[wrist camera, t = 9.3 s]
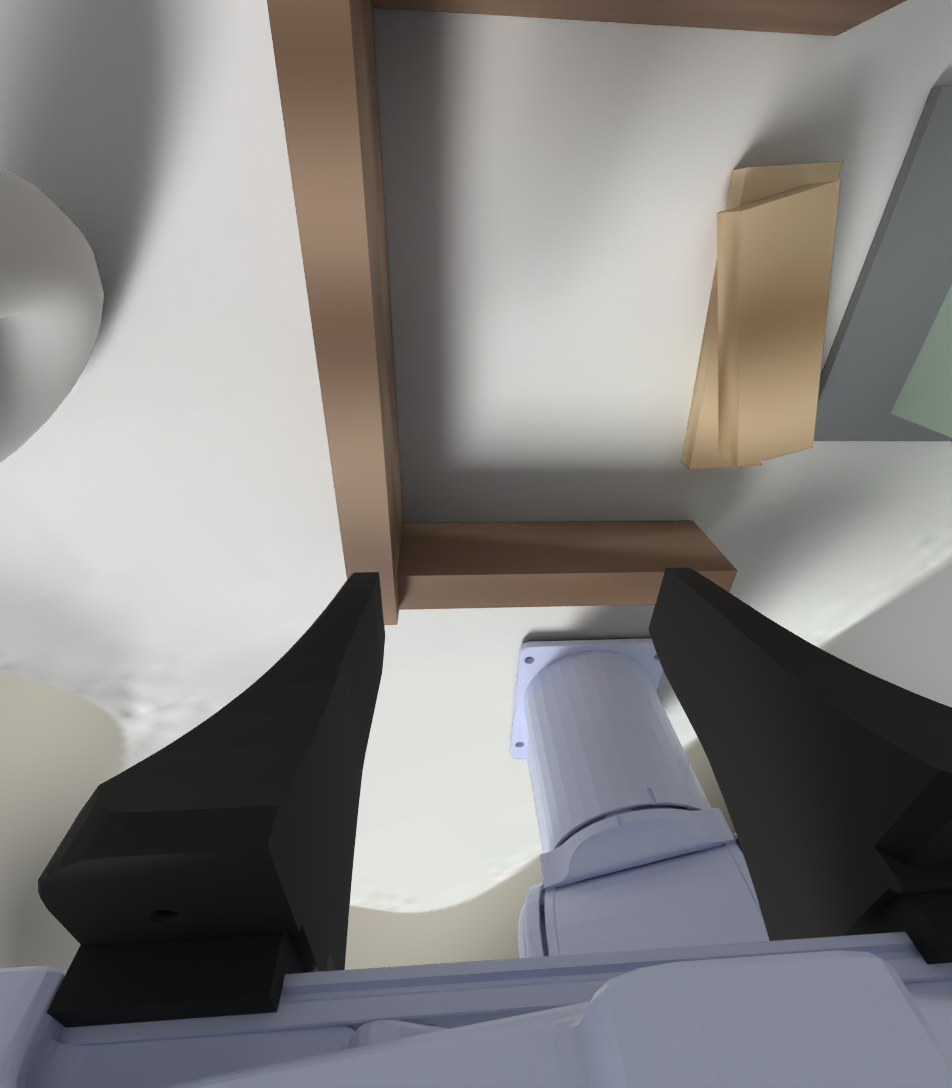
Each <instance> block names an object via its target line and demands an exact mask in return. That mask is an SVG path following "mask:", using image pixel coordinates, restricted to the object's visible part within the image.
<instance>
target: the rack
mask: <svg viewBox="0 0 952 1088" xmlns="http://www.w3.org/2000/svg"><path fill="white" fill-rule="evenodd" d="M904 1H906V0H267V4H268V12H269V19H270V26H271V33H272V40H273V48H274V55H275V62H276V69H277V77H278V84H279V91H280V98H281V105H282V113H283V120H284V127H285V134H286V142H287V149H288V156H289V163H290V170H291V178H292V185H293V192H294V199H295V207H296V214H297V221H298V228H299V235H300V243H301V250H302V257H303V264H304V272H305V279H306V286H307V293H308V301H309V308H310V315H311V322H312V329H313V337H314V344H315V351H316V358H317V366H318V373H319V380H320V387H321V394H322V402H323V409H324V416H325V423H326V431H327V438H328V445H329V452H330V459H331V467H332V474H333V481H334V488H335V496H336V503H337V510H338V517H339V524H340V532H341V539H342V546H343V553H344V561H345V568H346V575H347V579H348V578H349V577H350V576H351V575H352V574H353V573H354V572H379V577H380V587H381V598H382V608H383V619H384V625H397V621H398V612H399V610H400V609H450V608H499V607H549V606H598V605H648V604H656V601H657V597H658V594H659V590H660V586H661V583H662V579H663V576H664V572H665V569H666V568H691V569H693V570H694V571H696V572H698V573H700V574H701V575H703V576H704V577H706V578H708V579H709V580H711V581H712V582H714V583H715V584H717V585H718V586H720V587H721V588H723V589H724V590H726V591H727V592H729V591H730V589H731V586H732V583H733V581H734V578H735V575H736V572H737V570H736V569H735V568H734V567H733V566H732V564H731V563H730V562H729V561H728V560H727V559H726V558H725V557H724V555H723V554H722V553H721V552H720V551H719V550H718V549H717V548H716V546H715V545H714V544H713V543H712V542H711V541H710V540H709V539H708V537H707V536H706V535H705V534H704V533H703V532H702V531H701V530H700V529H699V527H698V526H697V525H696V524H695V523H694V522H693V521H606V522H488V523H403V509H402V493H401V476H400V459H399V442H398V425H397V409H396V392H395V375H394V358H393V342H392V325H391V308H390V291H389V274H388V258H387V241H386V224H385V207H384V191H383V174H382V157H381V140H380V123H379V107H378V90H377V73H376V56H375V40H374V23H373V7H374V8H391V9H407V10H423V11H440V12H456V13H472V14H489V15H505V16H521V17H538V18H554V19H570V20H586V21H603V22H619V23H635V24H652V25H668V26H684V27H701V28H717V29H733V30H750V31H766V32H782V33H799V34H815V35H831V36H837V35H839V34H841V33H843V32H845V31H847V30H849V29H851V28H853V27H855V26H857V25H859V24H861V23H863V22H865V21H867V20H868V19H870V18H872V17H874V16H876V15H878V14H880V13H882V12H884V11H886V10H888V9H890V8H892V7H894V6H896V5H898V4H900V3H902V2H904Z"/></svg>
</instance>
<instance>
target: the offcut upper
mask: <svg viewBox="0 0 952 1088" xmlns="http://www.w3.org/2000/svg"><path fill="white" fill-rule="evenodd" d="M840 181H841V180H836V181H829V182H821V183H814V184H807V185H804V186H801V187H798V188H794V189H791V190H788V191H785V192H782V193H779V194H775V195H772V196H769V197H766V198H763V199H760V200H756V201H753V202H750V203H747V204H744V205H741V206H737V207H734V208H731V209H728V210H725V211H722V212H719V213H717V273H718V429H719V454H721V455H722V456H723V457H725V458H726V459H727V460H728V461H730V462H731V463H732V464H734V465H735V466H736V467H737V468H738V467H742V466H746V465H749V464H753V463H757V462H760V461H764V460H768V459H771V458H775V457H779V456H783V455H786V454H790V453H794V452H797V451H801V450H805V449H808V448H812V447H813V440H814V431H815V421H816V411H817V402H818V392H819V383H820V373H821V363H822V354H823V344H824V335H825V325H826V315H827V306H828V296H829V287H830V277H831V267H832V258H833V248H834V239H835V229H836V219H837V210H838V200H839V191H840Z"/></svg>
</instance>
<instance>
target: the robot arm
mask: <svg viewBox="0 0 952 1088" xmlns="http://www.w3.org/2000/svg"><path fill="white" fill-rule="evenodd" d="M649 632H650V635H651V638H652V639H613V640H573V641H533V642H526V643H524V644H522V645H521V647H520V651H519V661H518V671H517V681H516V691H515V701H514V711H513V722H512V732H511V742H510V756H511V757H512V758H513V759H517V760H520V759H527V762H528V768H529V774H530V780H531V786H532V792H533V797H534V803H535V809H536V815H537V821H538V827H539V833H540V839H541V845H542V850H543V854H541V855H540V856H539V858H540V864H541V870H542V877H543V883H540V884H536V885H533V886H532V887H530V889H529V890H528V893H527V897H526V901H525V903H524V905H523V907H522V910H521V913H520V917H519V931H518V932H519V933H518V934H519V935H518V936H519V938H518V939H519V956H520V958H515V959H500V960H485V961H471V962H456V963H442V964H426V965H412V966H397V967H383V968H368V969H353V970H344V968H345V955H346V942H347V929H348V916H349V904H350V892H351V880H352V869H353V857H354V847H355V837H356V827H357V816H358V807H359V797H360V788H361V779H362V770H363V764H364V758H365V752H366V748H367V743H368V738H369V733H370V728H371V724H372V719H373V714H374V709H375V704H376V699H377V695H378V690H379V685H380V680H381V675H382V667H383V656H384V643H385V629H384V619H383V608H382V598H381V587H380V577H379V572H354V573H353V574H352V575H351V576H350V577H349V578H348V579H347V581H346V582H345V584H344V585H343V586H342V588H341V589H340V591H339V592H338V593H337V595H336V596H335V597H334V599H333V600H332V601H331V602H330V604H329V605H328V606H327V608H326V609H325V610H324V611H323V612H322V614H321V615H320V616H319V617H318V618H317V620H316V621H315V622H314V623H313V625H312V626H311V627H310V628H309V629H308V630H307V631H306V633H305V634H304V635H303V636H302V637H301V638H300V639H299V640H298V641H297V642H296V643H295V644H294V645H293V646H292V648H291V649H290V650H289V651H288V652H287V653H286V654H285V655H284V656H283V657H282V658H281V659H280V660H279V661H278V662H277V663H276V664H275V665H274V666H273V667H271V668H270V669H269V670H268V671H267V672H266V673H265V674H264V675H263V676H262V677H260V678H259V679H258V680H257V681H256V682H255V683H254V684H253V685H251V686H250V687H249V688H248V689H246V690H245V691H244V692H243V693H241V694H240V695H239V696H238V697H236V698H235V699H234V700H232V701H231V702H230V703H229V704H227V705H226V706H225V707H223V708H222V709H221V710H219V711H218V712H217V713H215V714H214V715H213V716H211V717H210V718H208V719H207V720H206V721H204V722H203V723H201V724H200V725H198V726H197V727H195V728H194V729H193V730H191V731H189V732H188V733H186V734H185V735H183V736H182V737H180V738H179V739H177V740H176V741H174V742H173V743H171V744H169V745H168V746H166V747H165V748H163V749H161V750H160V751H158V752H157V753H155V754H153V755H151V756H150V757H148V758H146V759H144V760H143V761H141V762H139V763H137V764H136V765H134V766H132V767H130V768H129V769H127V770H125V771H124V772H122V773H120V774H118V775H117V776H115V777H113V778H111V779H109V780H108V781H106V782H104V783H102V784H100V785H99V786H98V787H97V789H96V790H95V792H94V793H93V794H92V796H91V797H90V799H89V800H88V801H87V803H86V804H85V806H84V807H83V808H82V810H81V811H80V813H79V815H78V816H77V818H76V819H75V821H74V823H73V824H72V826H71V827H70V829H69V831H68V832H67V834H66V835H65V837H64V839H63V840H62V842H61V844H60V845H59V847H58V849H57V850H56V852H55V853H54V855H53V857H52V858H51V860H50V862H49V863H48V865H47V867H46V868H45V870H44V871H43V873H42V875H41V876H40V878H39V879H38V893H39V895H40V898H41V899H42V901H43V903H44V904H45V906H46V908H47V909H48V910H49V911H50V912H51V913H52V914H53V916H54V917H55V918H56V919H57V920H58V921H59V922H60V923H61V924H62V925H63V926H64V927H65V928H66V929H67V930H68V931H69V932H70V933H71V935H72V936H73V937H74V938H75V939H76V940H77V941H78V942H79V943H80V944H81V946H80V947H79V950H78V951H77V954H76V955H75V957H74V959H73V961H72V963H71V965H70V967H69V969H68V971H67V972H66V971H64V970H63V969H59V968H54V967H48V966H31V967H16V968H1V969H0V1088H952V708H951V707H949V706H946V705H943V704H940V703H938V702H935V701H932V700H930V699H928V698H925V697H923V696H920V695H918V694H915V693H913V692H910V691H908V690H906V689H903V688H901V687H899V686H896V685H894V684H892V683H889V682H887V681H885V680H883V679H881V678H878V677H876V676H874V675H871V674H869V673H867V672H865V671H863V670H861V669H859V668H857V667H855V666H853V665H851V664H848V663H847V662H845V661H843V660H841V659H839V658H837V657H835V656H833V655H831V654H829V653H827V652H825V651H823V650H822V649H820V648H818V647H816V646H814V645H812V644H811V643H809V642H807V641H805V640H804V639H802V638H800V637H799V636H797V635H795V634H793V633H792V632H790V631H788V630H787V629H785V628H783V627H782V626H780V625H778V624H777V623H775V622H774V621H772V620H770V619H769V618H767V617H766V616H764V615H762V614H761V613H759V612H758V611H756V610H755V609H753V608H752V607H750V606H749V605H747V604H745V603H744V602H742V601H741V600H739V599H738V598H736V597H735V596H733V595H732V594H730V593H729V592H727V591H726V590H724V589H723V588H721V587H720V586H718V585H717V584H715V583H714V582H712V581H711V580H709V579H708V578H706V577H704V576H703V575H701V574H700V573H698V572H696V571H694V570H693V569H691V568H666V569H665V572H664V576H663V579H662V583H661V586H660V590H659V594H658V597H657V601H656V604H655V608H654V611H653V615H652V619H651V622H650V626H649ZM656 654H657V655H656ZM527 657H531V658H528V659H527ZM663 670H664V672H665V674H666V676H667V678H668V680H669V682H670V684H671V686H672V688H673V690H674V692H675V694H676V696H677V698H678V700H679V702H680V703H681V705H682V707H683V709H684V711H685V713H686V715H687V717H688V719H689V721H690V723H691V725H692V727H693V729H694V730H695V732H696V734H697V736H698V738H699V740H700V742H701V744H702V746H703V748H704V751H705V753H706V755H707V757H708V759H709V762H710V765H711V767H712V769H713V772H714V775H715V777H716V780H717V782H718V785H719V788H720V790H721V793H722V795H723V798H724V801H725V803H726V806H727V809H728V812H729V814H730V817H731V820H732V823H733V826H734V828H735V831H736V833H734V837H733V835H732V833H731V831H730V829H729V827H728V825H727V823H726V821H725V819H724V817H723V815H722V813H721V810H720V809H719V808H712V809H711V807H710V805H709V803H708V800H707V798H706V796H705V794H704V792H703V790H702V788H701V786H700V784H699V782H698V779H697V778H696V775H695V773H694V771H693V769H692V767H691V765H690V763H689V760H688V758H687V756H686V754H685V752H684V750H683V748H682V746H681V744H680V742H679V739H678V737H677V735H676V733H675V731H674V729H673V727H672V725H671V723H670V720H669V718H668V716H667V714H666V712H665V710H664V708H663V706H662V704H661V702H660V699H659V697H658V695H657V693H656V691H657V688H658V684H659V681H660V678H661V675H662V672H663Z"/></svg>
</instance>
